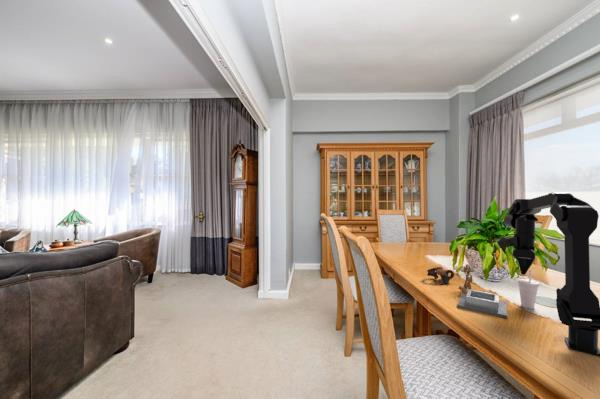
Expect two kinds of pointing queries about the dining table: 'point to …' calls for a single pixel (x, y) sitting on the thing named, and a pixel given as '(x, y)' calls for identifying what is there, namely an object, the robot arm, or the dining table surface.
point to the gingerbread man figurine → (467, 279)
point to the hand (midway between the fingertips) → (523, 271)
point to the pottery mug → (441, 274)
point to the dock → (483, 303)
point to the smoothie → (528, 291)
